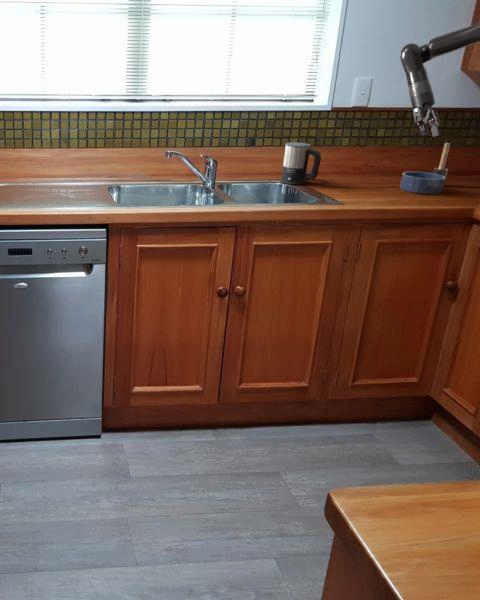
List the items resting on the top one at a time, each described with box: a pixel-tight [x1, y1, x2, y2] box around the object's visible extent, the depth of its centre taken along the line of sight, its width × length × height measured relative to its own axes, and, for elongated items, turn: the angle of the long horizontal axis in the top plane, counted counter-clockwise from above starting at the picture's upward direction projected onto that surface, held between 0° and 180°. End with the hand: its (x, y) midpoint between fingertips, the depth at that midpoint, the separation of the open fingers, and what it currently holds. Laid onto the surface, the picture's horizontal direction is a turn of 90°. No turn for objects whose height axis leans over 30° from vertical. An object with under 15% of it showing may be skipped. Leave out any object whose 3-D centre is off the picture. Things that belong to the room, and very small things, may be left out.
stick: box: [438, 142, 451, 170], centre depth 233 cm, size 2×2×16 cm
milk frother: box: [279, 142, 322, 185], centre depth 237 cm, size 14×16×15 cm
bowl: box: [399, 171, 446, 196], centre depth 227 cm, size 14×14×6 cm
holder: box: [432, 167, 449, 184], centre depth 235 cm, size 5×5×7 cm
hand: (430, 135), depth 231 cm, fingers open, 8 cm apart
